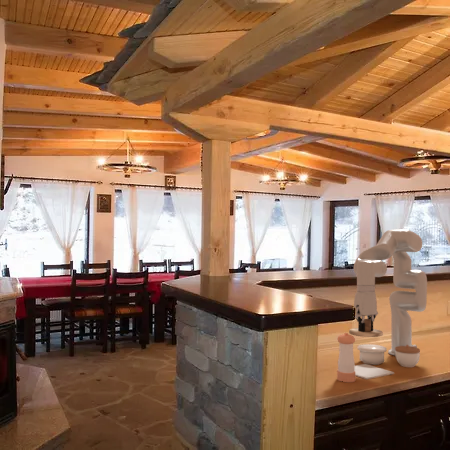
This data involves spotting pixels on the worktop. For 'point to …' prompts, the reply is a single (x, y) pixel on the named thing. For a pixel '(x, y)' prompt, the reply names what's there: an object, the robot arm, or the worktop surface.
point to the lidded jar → (407, 355)
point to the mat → (370, 371)
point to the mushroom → (372, 353)
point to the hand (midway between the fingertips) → (365, 330)
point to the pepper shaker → (346, 358)
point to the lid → (366, 330)
